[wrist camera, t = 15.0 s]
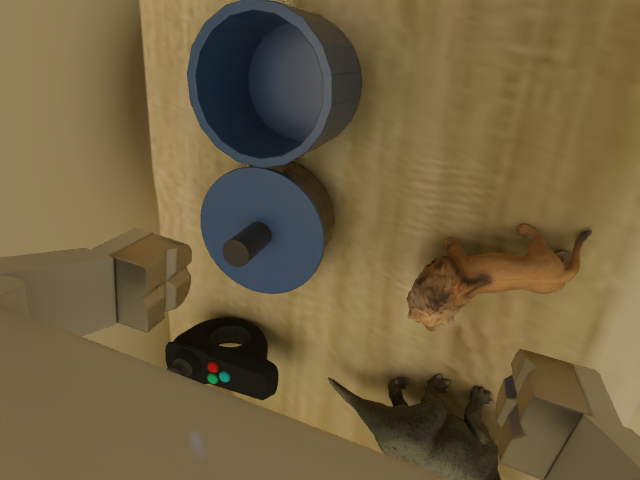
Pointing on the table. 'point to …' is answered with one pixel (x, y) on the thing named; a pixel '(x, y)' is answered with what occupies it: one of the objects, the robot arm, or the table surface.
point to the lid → (263, 229)
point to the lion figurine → (488, 276)
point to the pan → (312, 194)
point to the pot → (272, 81)
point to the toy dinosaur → (431, 431)
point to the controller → (225, 357)
